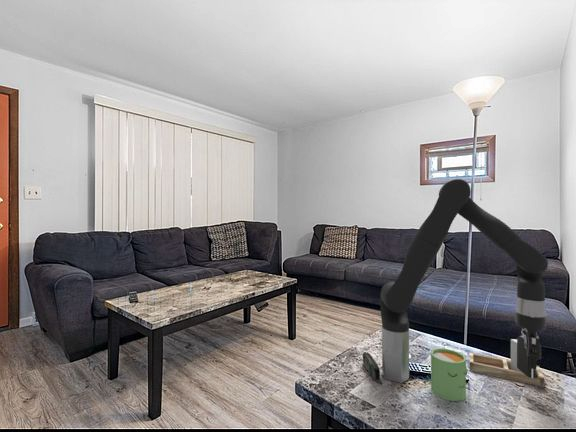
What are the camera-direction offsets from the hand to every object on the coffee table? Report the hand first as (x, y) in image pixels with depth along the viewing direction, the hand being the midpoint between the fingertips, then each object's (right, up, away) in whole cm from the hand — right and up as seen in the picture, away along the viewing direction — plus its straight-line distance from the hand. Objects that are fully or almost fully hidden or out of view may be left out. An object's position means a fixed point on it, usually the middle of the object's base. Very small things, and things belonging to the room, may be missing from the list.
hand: (529, 362), depth 98 cm
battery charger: (0, -4, 0) cm, 4 cm away
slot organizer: (+1, -10, +14) cm, 17 cm away
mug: (-24, -10, +2) cm, 26 cm away
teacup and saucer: (-29, -11, +29) cm, 42 cm away
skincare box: (+6, -10, +11) cm, 16 cm away
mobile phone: (-47, -11, +13) cm, 50 cm away
